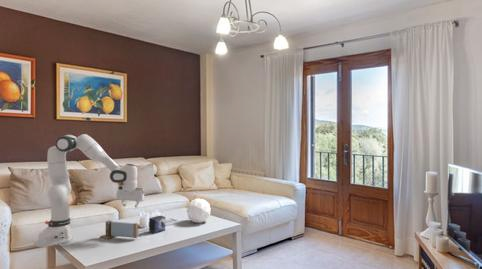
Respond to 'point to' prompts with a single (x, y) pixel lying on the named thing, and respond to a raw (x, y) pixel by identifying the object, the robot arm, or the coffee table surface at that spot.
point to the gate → (124, 229)
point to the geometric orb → (198, 210)
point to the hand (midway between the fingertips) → (130, 206)
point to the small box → (156, 224)
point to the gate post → (108, 231)
